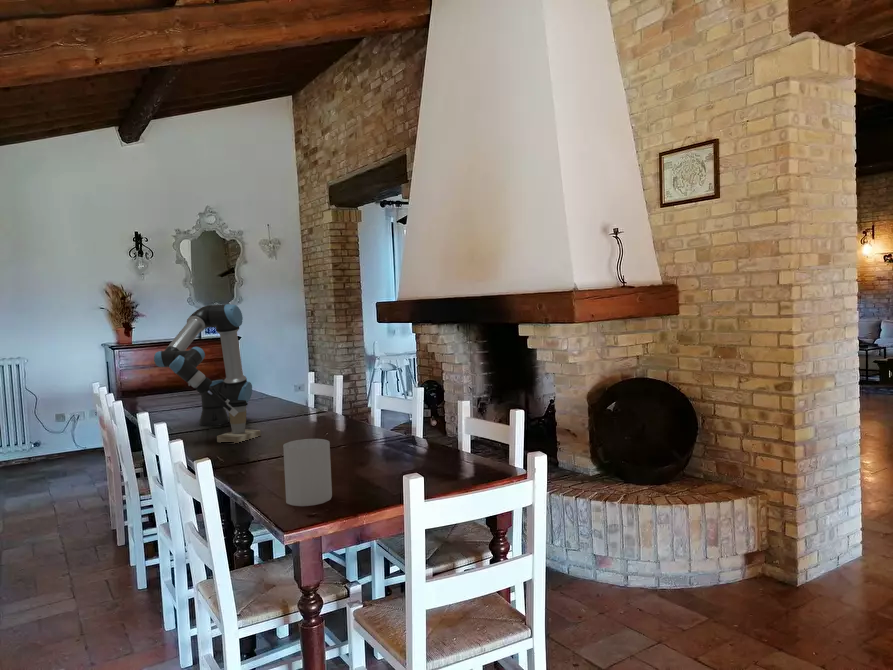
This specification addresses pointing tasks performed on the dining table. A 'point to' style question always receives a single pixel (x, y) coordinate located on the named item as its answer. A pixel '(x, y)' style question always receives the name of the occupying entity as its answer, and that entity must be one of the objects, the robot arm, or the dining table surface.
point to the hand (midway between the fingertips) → (236, 412)
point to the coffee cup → (238, 416)
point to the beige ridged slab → (238, 436)
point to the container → (307, 472)
